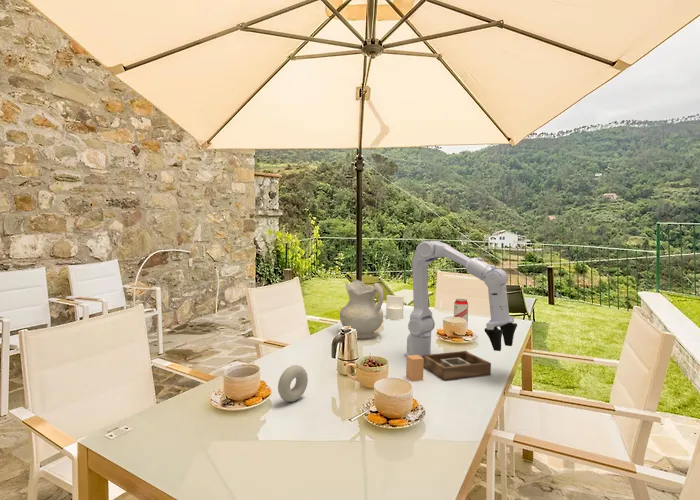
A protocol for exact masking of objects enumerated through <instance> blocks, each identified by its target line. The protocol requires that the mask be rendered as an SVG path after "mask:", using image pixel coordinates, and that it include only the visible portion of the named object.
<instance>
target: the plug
mask: <svg viewBox="0 0 700 500" xmlns="http://www.w3.org/2000/svg"><path fill="white" fill-rule="evenodd" d="M405 365H406V368H405V370H406V371H405V378H407V379H408V380H410V381H411V382H416V381H424V368H423V365H424V358H422V357H420V356H419V355H410V356H406V364H405Z"/></svg>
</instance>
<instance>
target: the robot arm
mask: <svg viewBox="0 0 700 500" xmlns="http://www.w3.org/2000/svg"><path fill="white" fill-rule="evenodd" d="M415 247H416V248H415V254H414V256H413V258H412V260H411V261H412V262H411V269H412V290H413V291H412V297H413V310H412V312H411V313H410V315H409V321H408V324H407V327H408V330H409V331H408V332H409V334H408V335H407V338H406V352H405V353H404V356H405V357H407V356H410V355H419V356H420V357H422V355H431V352H432V351H431V348H432V331H433V330H434V329H435V326H436V325H435V324H436V322H435V320H434V318H433V313H432V311H431V309H430V307H429V285H428V284H429V281H428V280H429V279H428V266H430V264H431V263H433V261H436V260H437V259H439V258H447V259H449V260H451V261H453V262H455V263H456V264H459V265H461V266H463V267H465V271H466V272H467V273H468V274H470V275H471V276H474V277H476V278H477V279H479V280H480V281H482V282H484V284H485V286H486V287H487V292H488V302H489V312H490V313H489V315H490V320H489V321H488V322H486V323H485V324H486V325H485V326H486V327H485V328H484V333H485V334H486V335H487V337H488V339H489V341H490V343H491V346H492V349H493V351H494V352H501V351H502V337H503V342H504V345H505V346H506V347H507V346H508V347H512V346H513V343H514V337H515V332H516V330H517V327H518V323H515V318H514V316H512V315H510V312H509V311H510V309H509V300H508V291H507V283H508V281H509V275H508V274H507V272H506V271H505V270H504V269H503V268H496V265H494V264H491V265H490V264H489V263H487V262H485V261H484V259H483V258H482V257H471V258H470V257H468V256H467V255H465V254H463V253H462V252H460V251H458V250H457V249H456V248H453V247H452V246H450V245H449V244H448V243H446V242H445V243H444V242H442V241H440V240H424V241H421V242H420V243H419V244H418V245H417V246H415Z"/></svg>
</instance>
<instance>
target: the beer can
mask: <svg viewBox="0 0 700 500" xmlns="http://www.w3.org/2000/svg"><path fill="white" fill-rule="evenodd" d="M454 317H461V318H464V319H466V321H467V327H468V322H469V318H468V317H469V302H468V299H465V298H455V301H454V304H453V318H454Z"/></svg>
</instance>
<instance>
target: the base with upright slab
mask: <svg viewBox="0 0 700 500" xmlns="http://www.w3.org/2000/svg"><path fill="white" fill-rule="evenodd" d="M404 297H405V296H404V295H392V294H390V295H389V294H387V295H386V303H385V304H386V308H385V309H386V310H385V312H386V313H385V318H387V319H386V320H388V319H391V320H390V321H400V320H399V319H403V320H404V305H405V303H404V301H405V300H404V299H405V298H404Z"/></svg>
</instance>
